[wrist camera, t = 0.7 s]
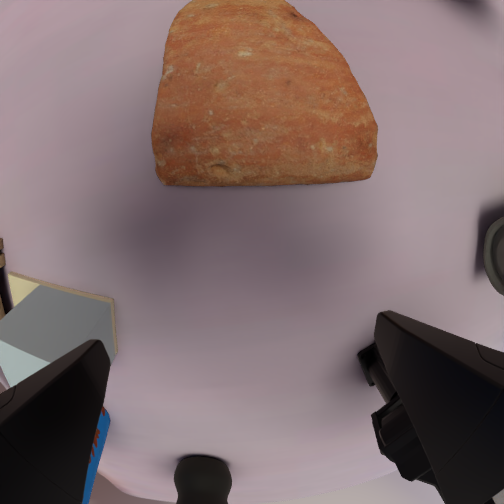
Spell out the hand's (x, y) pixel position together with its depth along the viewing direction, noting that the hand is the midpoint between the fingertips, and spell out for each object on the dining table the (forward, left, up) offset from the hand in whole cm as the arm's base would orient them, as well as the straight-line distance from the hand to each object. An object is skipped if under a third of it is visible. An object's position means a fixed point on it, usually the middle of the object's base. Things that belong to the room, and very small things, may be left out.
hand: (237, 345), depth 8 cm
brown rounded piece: (+9, -7, -14) cm, 18 cm away
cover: (+2, +19, -13) cm, 23 cm away
